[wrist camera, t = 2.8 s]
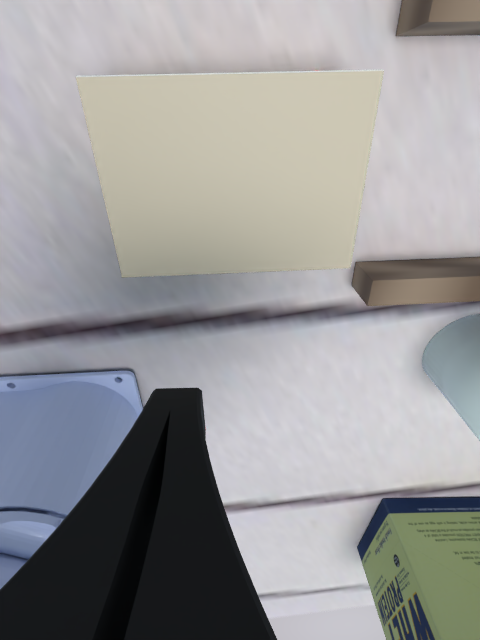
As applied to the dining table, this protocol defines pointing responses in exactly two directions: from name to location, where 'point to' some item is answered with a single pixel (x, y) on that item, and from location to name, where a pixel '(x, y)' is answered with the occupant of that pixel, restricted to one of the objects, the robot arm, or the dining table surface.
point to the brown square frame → (425, 274)
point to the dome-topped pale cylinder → (457, 367)
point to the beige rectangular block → (232, 167)
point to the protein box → (425, 567)
